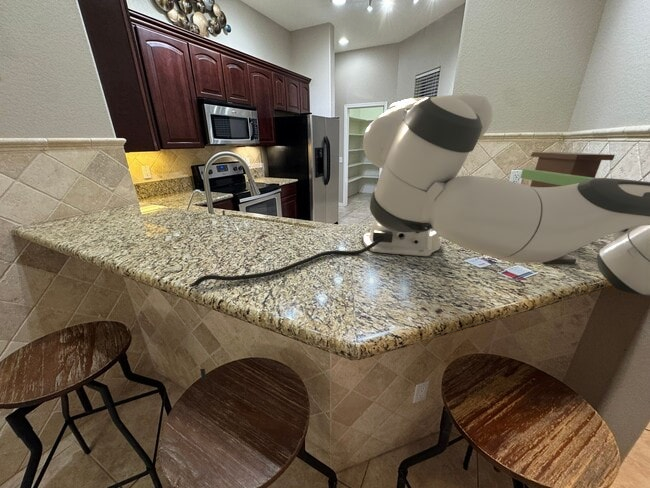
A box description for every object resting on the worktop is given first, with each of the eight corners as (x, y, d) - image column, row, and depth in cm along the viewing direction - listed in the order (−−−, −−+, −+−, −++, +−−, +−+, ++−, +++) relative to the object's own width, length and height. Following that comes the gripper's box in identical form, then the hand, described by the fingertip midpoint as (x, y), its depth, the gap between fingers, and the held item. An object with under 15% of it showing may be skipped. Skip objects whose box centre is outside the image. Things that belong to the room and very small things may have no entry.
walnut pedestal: (545, 246, 78) (577, 154, 68) (509, 229, 93) (532, 151, 83) (578, 246, 78) (615, 154, 68) (537, 229, 93) (563, 152, 83)
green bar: (608, 194, 54) (613, 182, 53) (520, 177, 78) (522, 169, 77) (622, 194, 54) (627, 182, 53) (530, 178, 78) (532, 169, 77)
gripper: (580, 241, 51) (543, 194, 59) (684, 242, 51) (632, 195, 59) (608, 218, 46) (564, 170, 54) (723, 219, 46) (661, 171, 54)
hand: (600, 183), depth 57 cm, fingers closed on green bar, 3 cm apart
